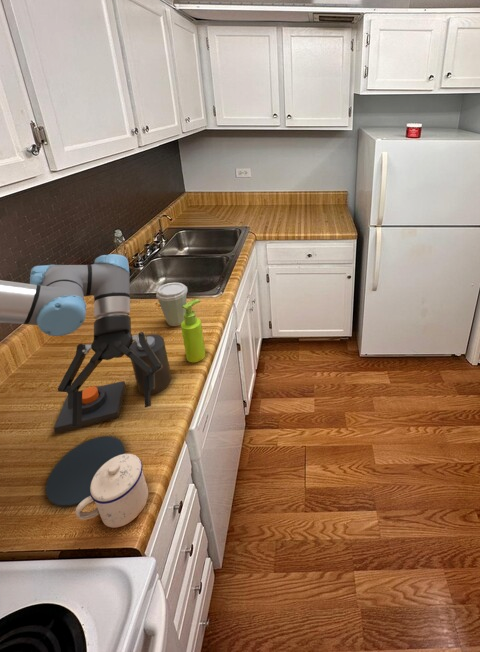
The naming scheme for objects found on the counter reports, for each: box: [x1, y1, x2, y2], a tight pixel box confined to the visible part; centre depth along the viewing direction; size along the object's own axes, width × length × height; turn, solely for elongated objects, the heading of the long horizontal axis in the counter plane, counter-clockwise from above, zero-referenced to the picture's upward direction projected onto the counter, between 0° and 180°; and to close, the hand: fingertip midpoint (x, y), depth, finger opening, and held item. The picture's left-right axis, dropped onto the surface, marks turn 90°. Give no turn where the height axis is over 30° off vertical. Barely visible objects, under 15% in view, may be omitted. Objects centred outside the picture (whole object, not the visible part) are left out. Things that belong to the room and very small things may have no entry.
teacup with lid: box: [75, 453, 149, 529], centre depth 66 cm, size 12×9×12 cm
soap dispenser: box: [180, 298, 206, 363], centre depth 105 cm, size 6×7×20 cm
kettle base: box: [53, 380, 127, 434], centre depth 89 cm, size 14×11×4 cm
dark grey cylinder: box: [129, 334, 173, 396], centre depth 96 cm, size 9×11×15 cm
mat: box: [45, 435, 126, 508], centre depth 75 cm, size 15×15×1 cm
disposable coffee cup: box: [155, 282, 188, 327], centre depth 122 cm, size 11×11×15 cm
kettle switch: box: [81, 386, 99, 404], centre depth 88 cm, size 4×4×2 cm
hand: (113, 415), depth 72 cm, fingers open, 13 cm apart
